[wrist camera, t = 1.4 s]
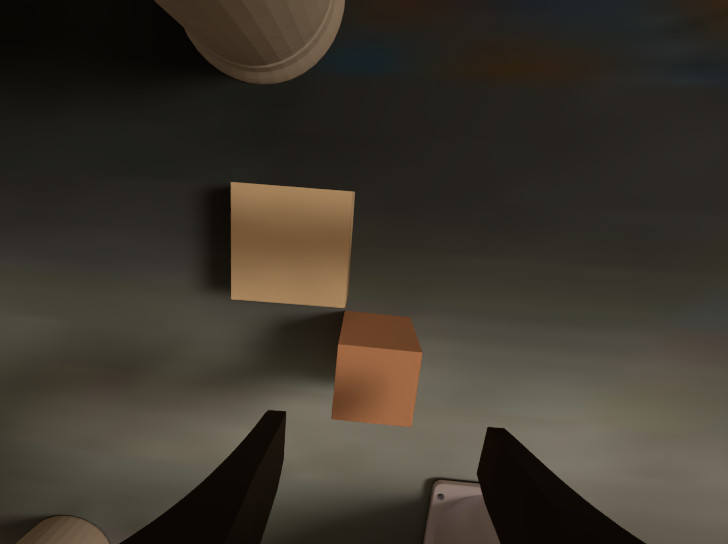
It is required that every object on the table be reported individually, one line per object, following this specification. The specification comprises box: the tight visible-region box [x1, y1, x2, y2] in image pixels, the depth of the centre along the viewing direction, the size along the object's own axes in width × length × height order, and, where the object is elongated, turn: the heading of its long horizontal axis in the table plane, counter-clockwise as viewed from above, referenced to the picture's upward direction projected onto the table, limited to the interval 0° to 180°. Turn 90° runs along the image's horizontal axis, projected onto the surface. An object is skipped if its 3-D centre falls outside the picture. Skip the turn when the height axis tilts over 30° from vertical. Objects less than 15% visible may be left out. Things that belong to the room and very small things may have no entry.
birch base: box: [231, 182, 355, 308], centre depth 20 cm, size 6×6×3 cm
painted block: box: [331, 311, 422, 427], centre depth 20 cm, size 4×4×5 cm
